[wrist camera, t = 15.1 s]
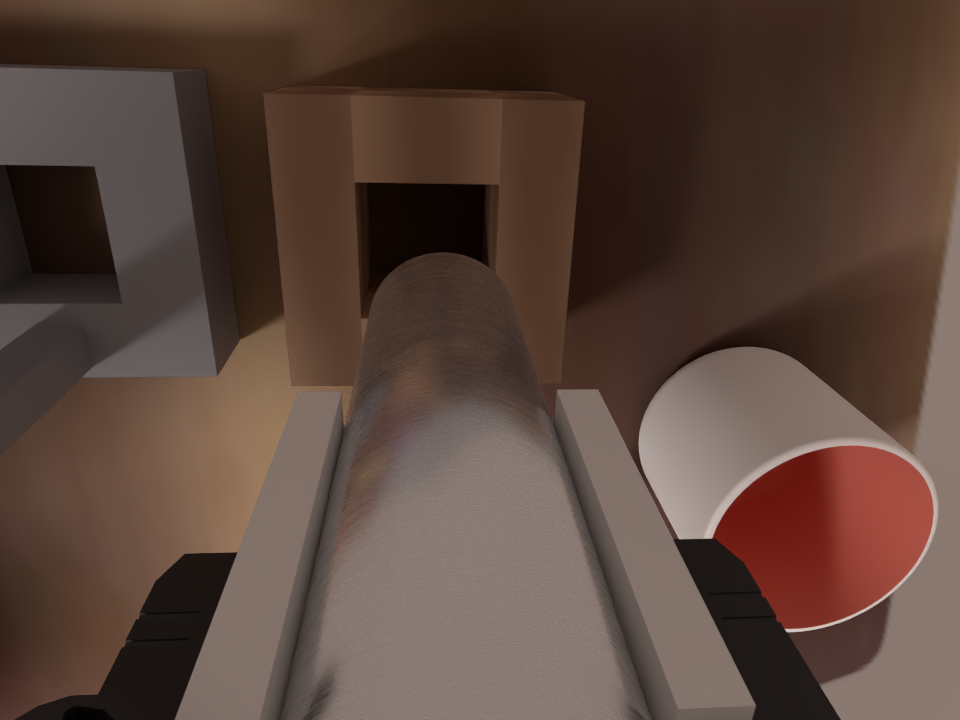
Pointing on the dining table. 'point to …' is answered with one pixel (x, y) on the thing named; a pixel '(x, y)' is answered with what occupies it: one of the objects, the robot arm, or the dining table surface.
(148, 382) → the dining table surface
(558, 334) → the frame
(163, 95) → the socket block
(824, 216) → the dining table surface
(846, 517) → the cup
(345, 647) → the peg
